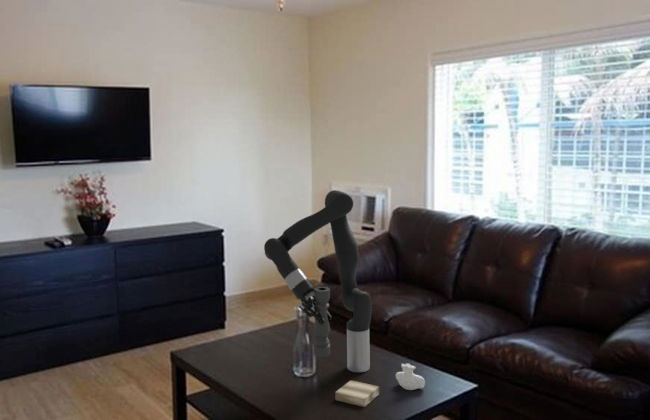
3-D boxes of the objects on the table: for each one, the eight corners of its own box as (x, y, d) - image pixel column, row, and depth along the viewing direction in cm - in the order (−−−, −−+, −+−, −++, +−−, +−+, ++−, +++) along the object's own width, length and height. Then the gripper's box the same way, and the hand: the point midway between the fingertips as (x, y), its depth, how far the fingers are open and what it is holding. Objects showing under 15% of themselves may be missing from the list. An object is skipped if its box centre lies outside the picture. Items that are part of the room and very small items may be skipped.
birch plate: (350, 387, 228) (350, 380, 228) (379, 394, 222) (379, 386, 222) (335, 399, 218) (335, 392, 218) (364, 407, 212) (364, 399, 212)
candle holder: (315, 357, 217) (315, 292, 212) (311, 350, 223) (312, 286, 218) (332, 356, 218) (332, 291, 214) (327, 349, 224) (328, 285, 219)
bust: (395, 390, 230) (387, 375, 223) (401, 373, 235) (393, 357, 228) (424, 397, 224) (416, 381, 217) (430, 379, 228) (423, 363, 221)
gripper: (304, 284, 229) (330, 320, 225) (282, 294, 217) (309, 333, 213) (315, 273, 225) (342, 310, 221) (293, 283, 213) (322, 322, 209)
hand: (326, 321), depth 217 cm, fingers closed on candle holder, 4 cm apart
